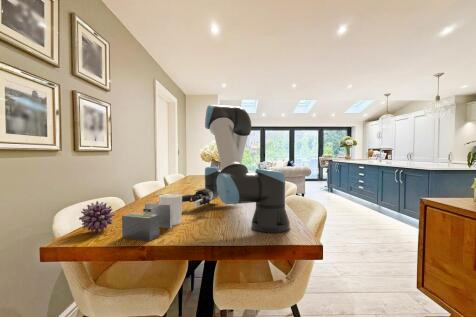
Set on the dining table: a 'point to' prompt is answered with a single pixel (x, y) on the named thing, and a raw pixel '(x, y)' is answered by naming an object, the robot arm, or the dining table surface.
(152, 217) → the box
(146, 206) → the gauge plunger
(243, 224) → the dining table surface
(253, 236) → the dining table surface
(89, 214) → the flower
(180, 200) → the white cream cup
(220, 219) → the dining table surface
